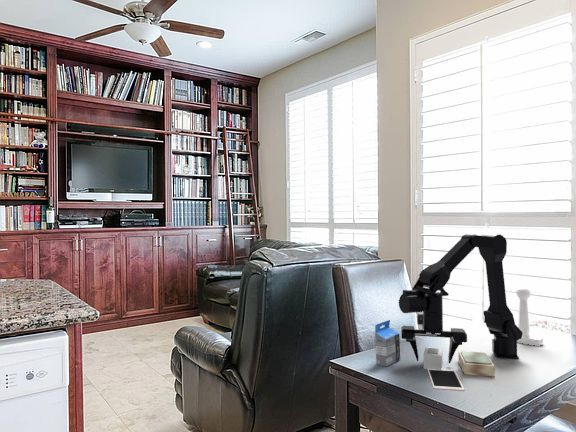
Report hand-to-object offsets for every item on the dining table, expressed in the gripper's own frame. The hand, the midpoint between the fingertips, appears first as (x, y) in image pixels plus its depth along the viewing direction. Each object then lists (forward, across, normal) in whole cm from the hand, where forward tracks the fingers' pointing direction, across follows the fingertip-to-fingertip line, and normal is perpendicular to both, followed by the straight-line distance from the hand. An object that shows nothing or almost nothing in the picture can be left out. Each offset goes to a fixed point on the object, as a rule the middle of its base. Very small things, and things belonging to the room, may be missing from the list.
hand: (433, 361), depth 131 cm
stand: (+1, -12, 0) cm, 12 cm away
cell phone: (+2, -2, +11) cm, 11 cm away
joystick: (+1, -34, -34) cm, 48 cm away
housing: (+1, 0, 0) cm, 1 cm away
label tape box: (+1, +14, 0) cm, 14 cm away
